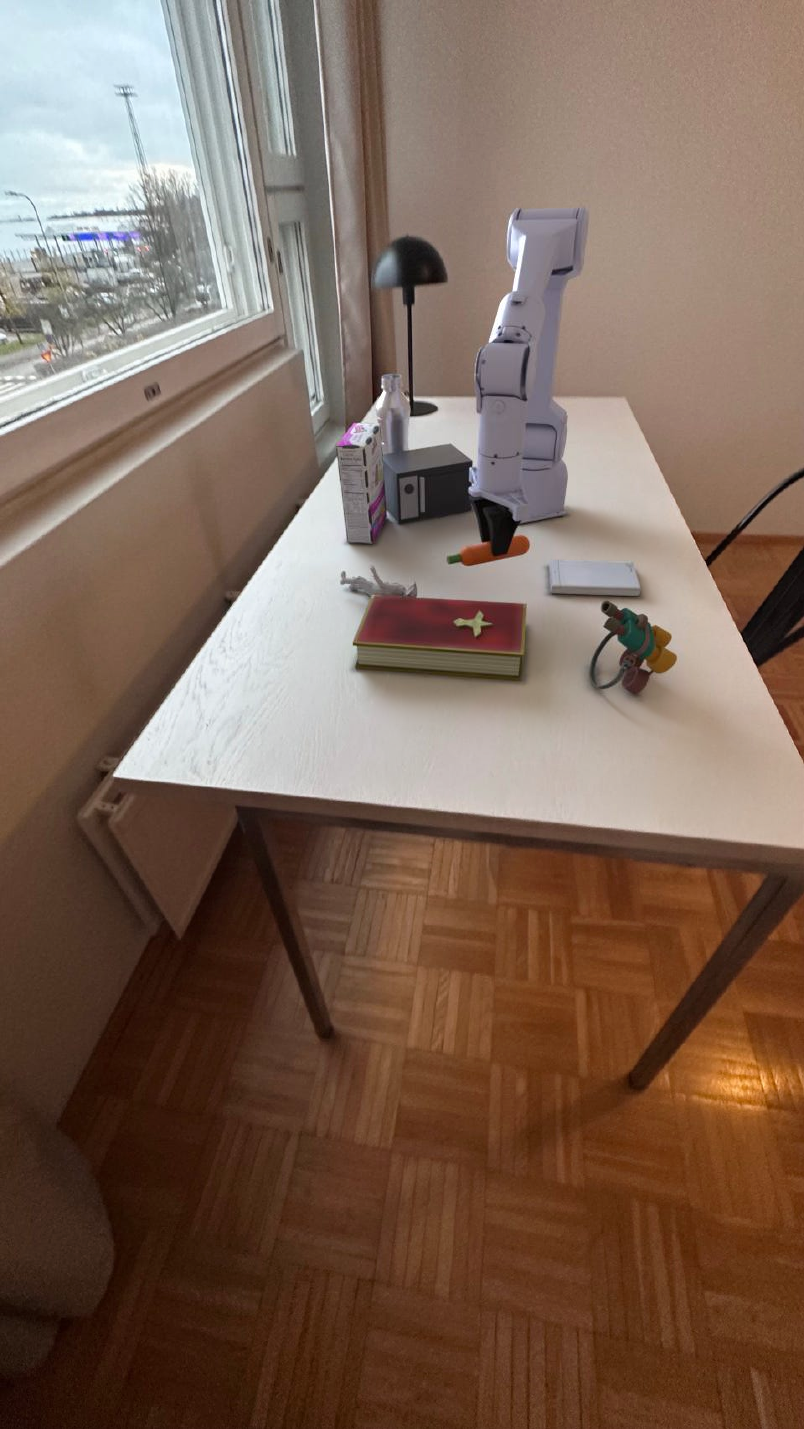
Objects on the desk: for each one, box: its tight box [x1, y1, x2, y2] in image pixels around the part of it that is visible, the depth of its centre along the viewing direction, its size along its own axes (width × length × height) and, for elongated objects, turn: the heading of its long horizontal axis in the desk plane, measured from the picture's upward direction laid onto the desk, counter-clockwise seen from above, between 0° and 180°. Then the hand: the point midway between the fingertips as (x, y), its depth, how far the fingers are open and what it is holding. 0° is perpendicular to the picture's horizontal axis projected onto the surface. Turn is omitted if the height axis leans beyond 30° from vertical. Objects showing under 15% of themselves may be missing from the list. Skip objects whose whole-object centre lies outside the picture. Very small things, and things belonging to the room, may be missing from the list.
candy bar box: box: [335, 422, 388, 545], centre depth 106 cm, size 11×5×16 cm, turn 168°
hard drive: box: [548, 559, 641, 597], centre depth 94 cm, size 2×8×12 cm
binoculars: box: [589, 600, 678, 695], centre depth 74 cm, size 9×9×10 cm
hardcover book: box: [352, 595, 528, 682], centre depth 82 cm, size 12×21×4 cm, turn 80°
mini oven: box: [383, 443, 474, 525], centre depth 114 cm, size 11×14×9 cm
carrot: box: [446, 534, 531, 567], centre depth 89 cm, size 12×3×3 cm, turn 109°
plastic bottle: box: [375, 373, 411, 454], centre depth 119 cm, size 6×7×20 cm
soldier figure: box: [339, 564, 418, 598], centre depth 92 cm, size 8×5×12 cm
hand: (494, 549), depth 89 cm, fingers closed on carrot, 3 cm apart
